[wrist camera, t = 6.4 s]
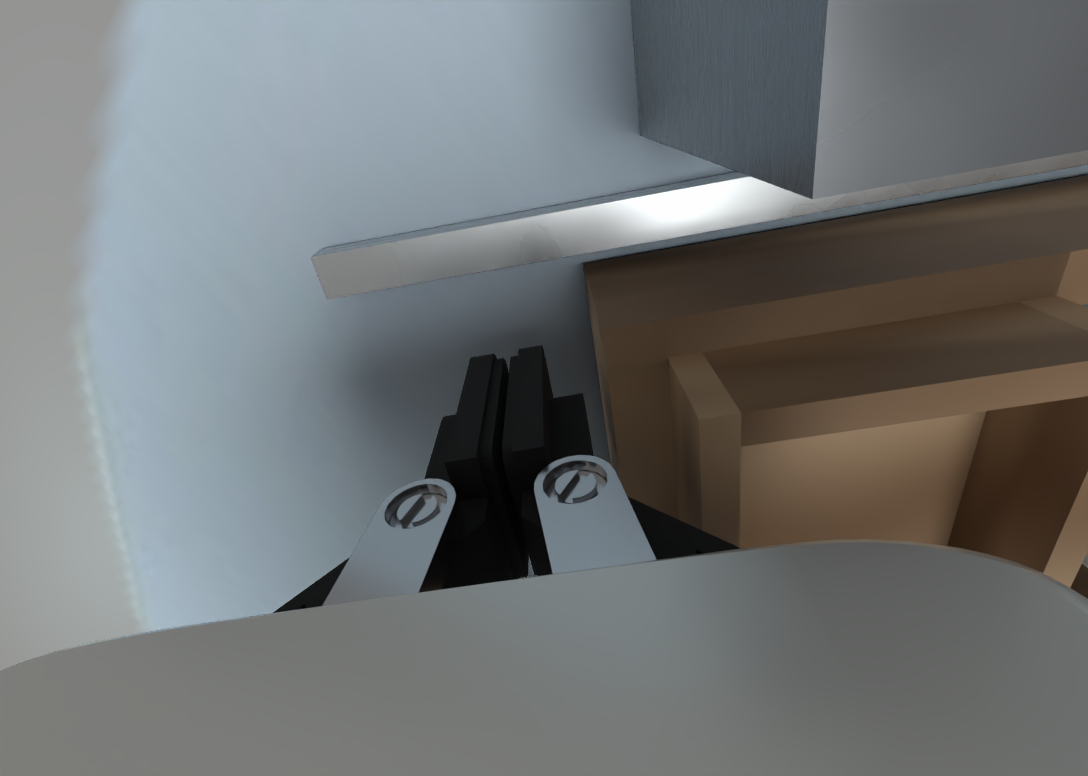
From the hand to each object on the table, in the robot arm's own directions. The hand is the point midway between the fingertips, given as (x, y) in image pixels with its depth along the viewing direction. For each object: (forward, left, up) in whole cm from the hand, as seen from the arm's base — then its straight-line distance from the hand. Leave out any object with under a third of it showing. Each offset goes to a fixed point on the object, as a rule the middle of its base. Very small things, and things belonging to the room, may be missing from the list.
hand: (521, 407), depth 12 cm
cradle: (-3, -12, -2) cm, 12 cm away
